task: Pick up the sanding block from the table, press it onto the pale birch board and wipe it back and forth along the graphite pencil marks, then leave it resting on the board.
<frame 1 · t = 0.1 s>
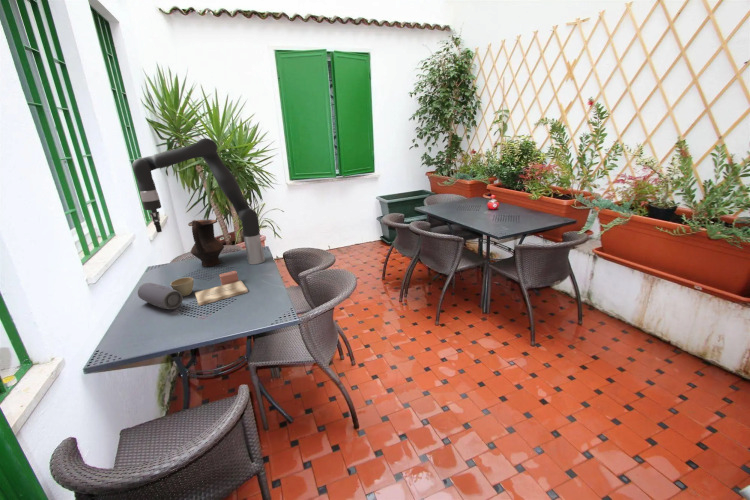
hand: (159, 230, 176), 29 cm above the table, fingers open, 8 cm apart
board: (221, 293, 167), on the table
bluetooth speaker: (163, 306, 159), on the table
jug: (210, 264, 209), on the table
sanding block: (230, 284, 178), on the table
flower pot: (185, 294, 169), on the table
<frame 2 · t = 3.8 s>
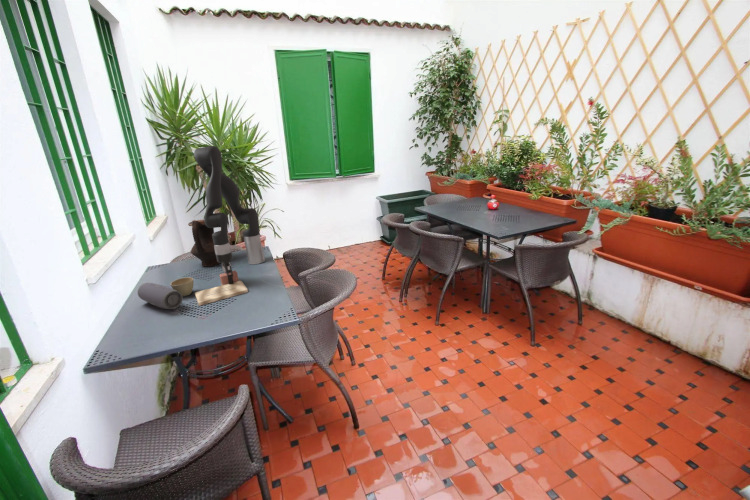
hand: (229, 281, 178), 1 cm above the table, fingers open, 7 cm apart
nothing on the table moved.
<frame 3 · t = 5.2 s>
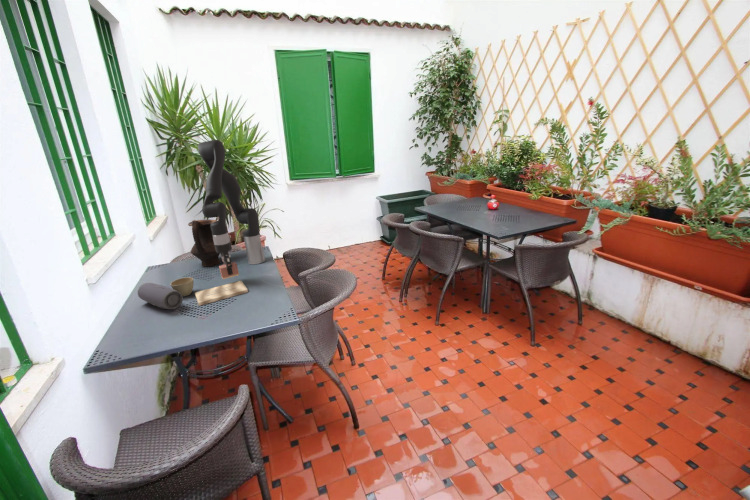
hand: (229, 272, 177), 6 cm above the table, fingers closed on sanding block, 4 cm apart
sanding block: (230, 275, 177), point 4 cm above the table, touching gripper
everything else where it was.
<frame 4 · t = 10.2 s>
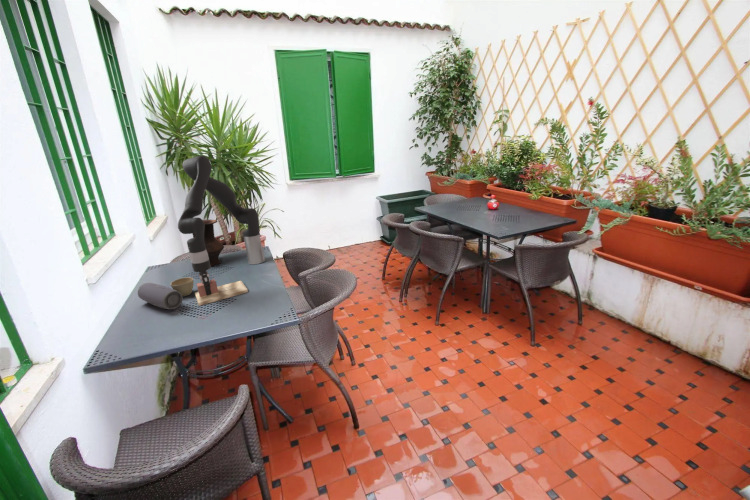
hand: (208, 292, 164), 2 cm above the table, fingers closed on sanding block, 4 cm apart
sanding block: (209, 294, 164), point 2 cm above the table, touching board, gripper
everything else where it was.
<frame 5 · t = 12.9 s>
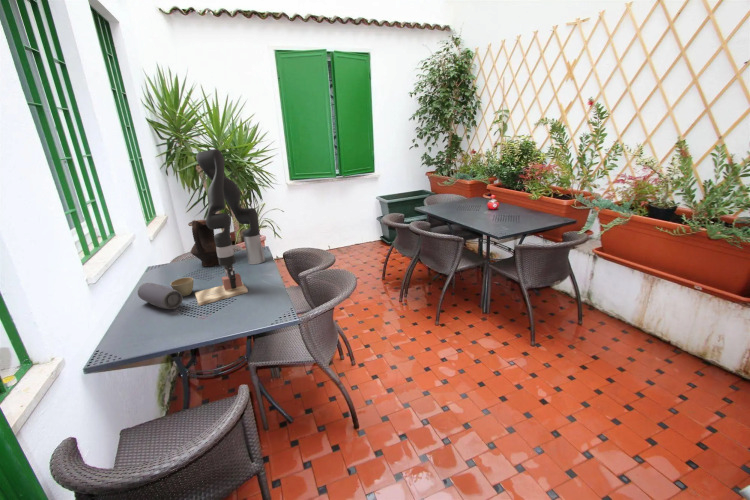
hand: (232, 286, 169), 2 cm above the table, fingers closed on sanding block, 4 cm apart
sanding block: (233, 287, 170), point 2 cm above the table, touching gripper
everything else where it was.
when the fingers open (2 cm above the table, at t = 15.2 s): sanding block stays where it is, resting on board.
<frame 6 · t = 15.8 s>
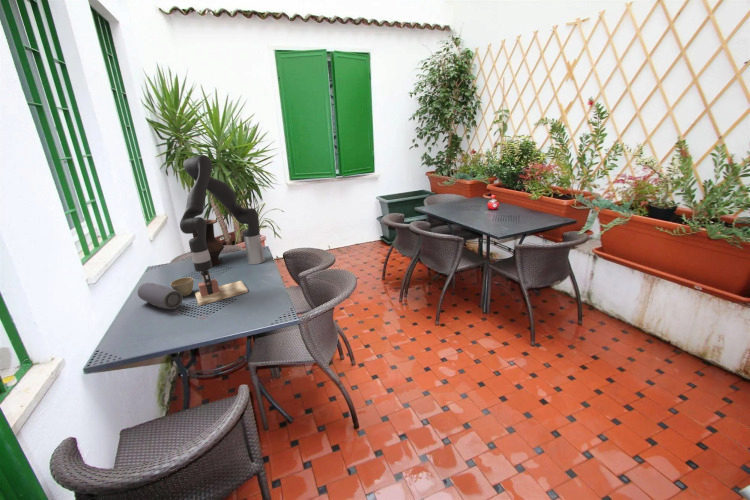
hand: (209, 291, 164), 3 cm above the table, fingers open, 8 cm apart
sanding block: (210, 293, 164), point 2 cm above the table, touching board
everything else where it was.
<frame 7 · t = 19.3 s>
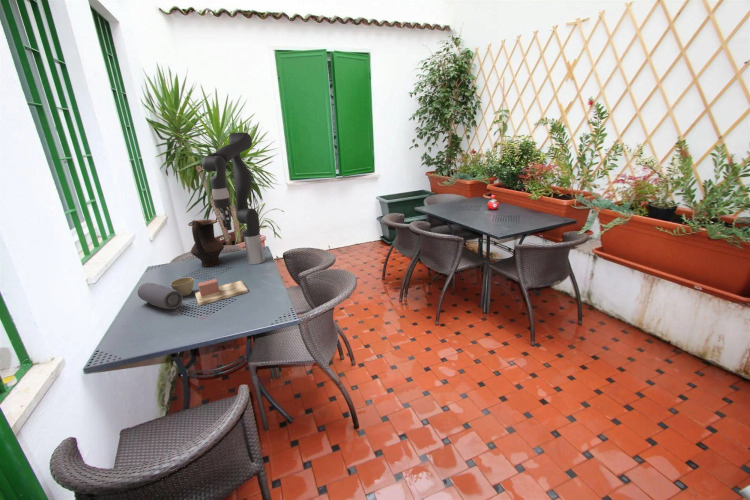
hand: (227, 228, 176), 28 cm above the table, fingers open, 8 cm apart
nothing on the table moved.
at the end: sanding block inside the target area on the board (4.8 cm from its centre), point 1.5 cm above the board's base; sanding block moved 14.9 cm from its start; the gripper is holding nothing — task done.
